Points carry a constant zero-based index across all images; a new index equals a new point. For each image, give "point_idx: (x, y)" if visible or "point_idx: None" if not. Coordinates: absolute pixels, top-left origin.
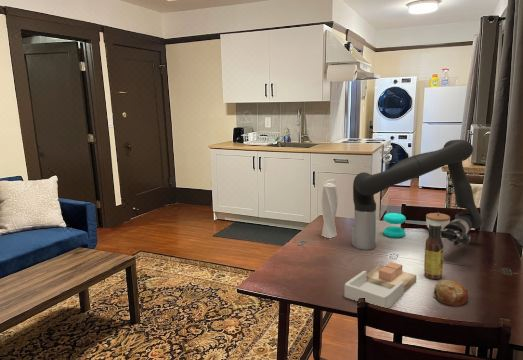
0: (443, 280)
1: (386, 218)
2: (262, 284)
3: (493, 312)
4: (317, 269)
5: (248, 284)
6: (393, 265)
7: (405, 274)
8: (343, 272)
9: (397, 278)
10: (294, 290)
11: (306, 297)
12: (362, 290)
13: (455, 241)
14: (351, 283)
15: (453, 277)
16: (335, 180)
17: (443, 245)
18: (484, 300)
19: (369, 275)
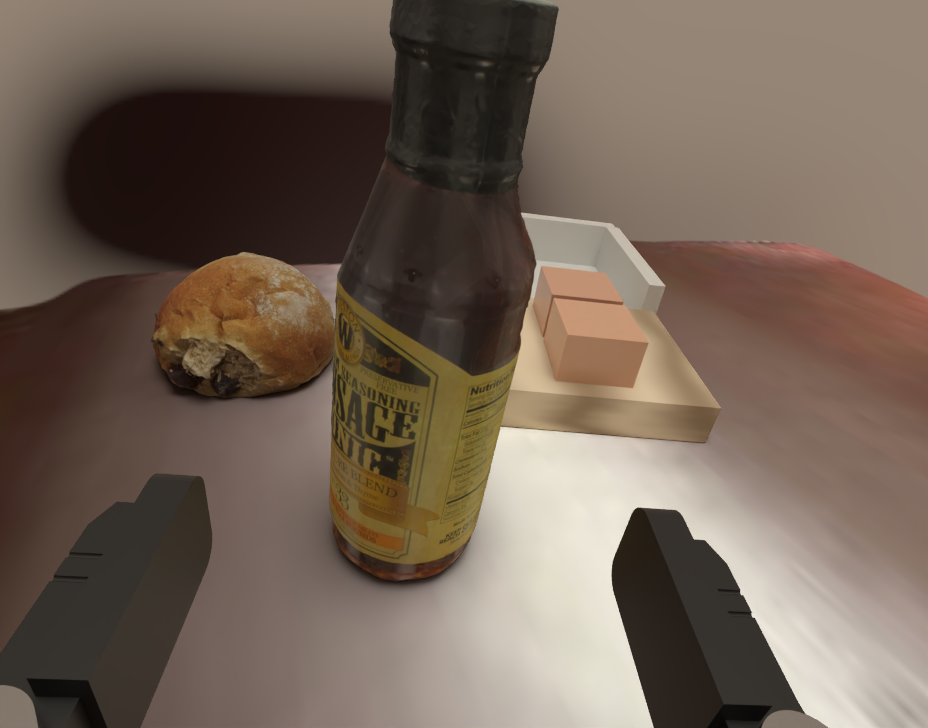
0: (289, 278)
1: None
2: (806, 259)
3: (39, 328)
4: (866, 355)
5: (822, 253)
6: (598, 317)
7: (527, 372)
8: (784, 370)
9: (530, 332)
10: (724, 260)
11: (666, 249)
12: (542, 215)
13: (177, 479)
14: (609, 238)
15: (234, 600)
16: None
17: (342, 269)
18: (47, 393)
19: (642, 317)
